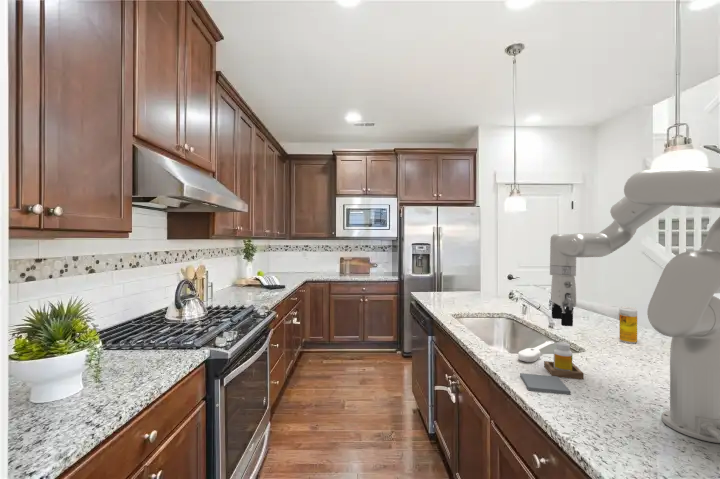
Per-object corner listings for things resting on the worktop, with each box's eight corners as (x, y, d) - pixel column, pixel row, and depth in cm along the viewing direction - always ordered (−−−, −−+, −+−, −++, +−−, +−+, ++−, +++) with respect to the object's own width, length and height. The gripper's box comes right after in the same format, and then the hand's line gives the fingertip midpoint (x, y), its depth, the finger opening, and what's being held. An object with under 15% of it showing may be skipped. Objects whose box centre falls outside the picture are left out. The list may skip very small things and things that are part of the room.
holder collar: (583, 379, 108) (583, 373, 108) (552, 376, 110) (552, 370, 110) (572, 369, 117) (572, 363, 117) (544, 366, 119) (544, 361, 119)
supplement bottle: (575, 376, 110) (575, 346, 110) (557, 375, 111) (557, 345, 111) (568, 370, 115) (568, 341, 115) (551, 369, 116) (551, 340, 117)
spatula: (544, 346, 143) (544, 339, 143) (559, 349, 139) (559, 342, 139) (514, 360, 124) (514, 352, 124) (531, 364, 120) (531, 356, 120)
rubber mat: (570, 394, 97) (570, 391, 97) (528, 390, 100) (528, 387, 100) (557, 379, 108) (557, 376, 108) (520, 376, 110) (520, 373, 110)
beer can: (616, 340, 150) (616, 306, 150) (624, 339, 153) (624, 305, 153) (632, 344, 145) (632, 309, 145) (640, 343, 147) (640, 308, 147)
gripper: (586, 274, 104) (584, 329, 105) (566, 268, 121) (565, 316, 121) (558, 273, 106) (557, 328, 106) (542, 268, 123) (542, 315, 123)
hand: (561, 322), depth 114 cm, fingers open, 9 cm apart
